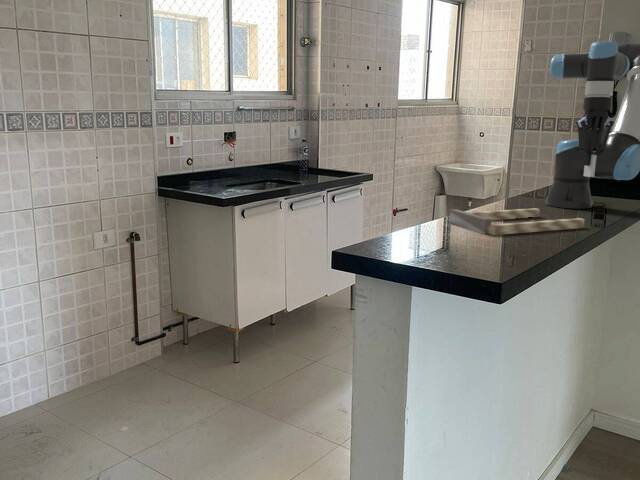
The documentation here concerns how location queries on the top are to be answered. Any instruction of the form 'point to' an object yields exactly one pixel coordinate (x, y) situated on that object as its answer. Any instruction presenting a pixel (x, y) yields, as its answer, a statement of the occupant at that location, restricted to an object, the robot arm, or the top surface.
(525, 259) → the top surface
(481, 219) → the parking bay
